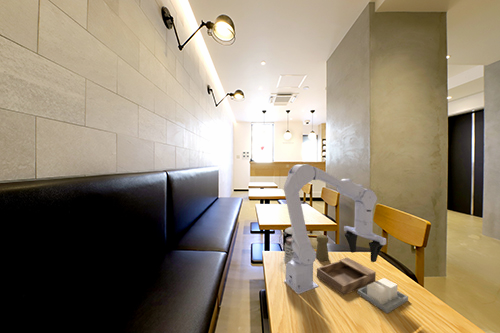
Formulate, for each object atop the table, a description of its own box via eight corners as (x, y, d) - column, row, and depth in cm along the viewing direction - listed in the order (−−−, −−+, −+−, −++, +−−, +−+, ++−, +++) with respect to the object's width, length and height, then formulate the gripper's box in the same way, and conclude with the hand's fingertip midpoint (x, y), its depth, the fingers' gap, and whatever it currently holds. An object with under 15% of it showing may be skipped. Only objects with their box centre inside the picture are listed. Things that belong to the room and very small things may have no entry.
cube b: (397, 296, 60) (397, 284, 60) (390, 300, 58) (390, 288, 58) (384, 289, 63) (384, 277, 63) (377, 292, 62) (377, 280, 62)
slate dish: (387, 314, 53) (387, 308, 53) (357, 294, 61) (357, 289, 61) (408, 301, 58) (408, 296, 58) (378, 285, 66) (378, 280, 66)
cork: (331, 262, 82) (331, 238, 81) (317, 262, 82) (318, 238, 82) (325, 255, 88) (326, 233, 88) (313, 255, 88) (313, 233, 88)
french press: (301, 269, 76) (302, 210, 76) (275, 261, 82) (276, 206, 82) (306, 259, 84) (307, 205, 84) (283, 252, 90) (284, 202, 90)
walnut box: (343, 296, 60) (343, 284, 60) (316, 276, 71) (316, 267, 71) (375, 281, 68) (375, 271, 68) (347, 266, 79) (347, 257, 78)
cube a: (387, 301, 57) (387, 289, 57) (380, 305, 56) (380, 292, 56) (374, 293, 61) (374, 281, 61) (367, 297, 59) (367, 285, 59)
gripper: (391, 224, 63) (390, 263, 63) (352, 214, 76) (351, 246, 76) (379, 227, 60) (379, 268, 60) (340, 216, 73) (340, 249, 73)
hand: (362, 256), depth 67 cm, fingers open, 7 cm apart
